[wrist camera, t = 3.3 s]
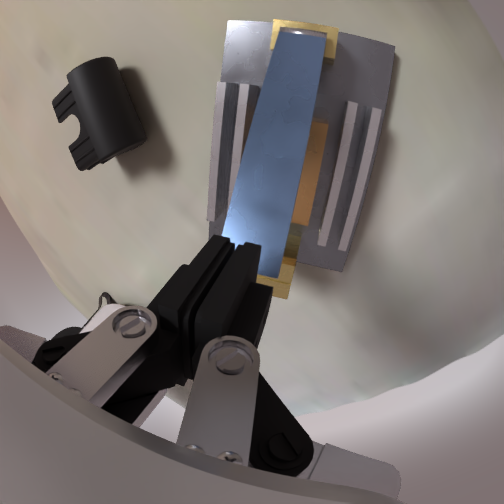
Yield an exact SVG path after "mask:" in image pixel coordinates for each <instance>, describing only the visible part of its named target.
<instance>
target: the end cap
mask: <svg viewBox="0 0 504 504" xmlns="http://www.w3.org/2000/svg"><path fill="white" fill-rule="evenodd" d="M67 79H68V82H69V84H68V85H67V86H66V87H65V88H64V89H63V90H62V91H61V92H60V93H59V94H58V95H57V96H56V97H55V98H54V99H53V101H52V105H53V108H54V111H55V113H56V116H57V119H58V122H59V123H62V122H63V121H64V120H65V119H66V118H67V117H68V116H69V115H71V114H73V115H75V116H76V117H77V118H78V120H79V122H80V134H79V137H78V139H77V140H76V141H75V142H73V143H72V144H71V145H70V146H69V150H70V152H71V154H72V157H73V159H74V161H75V164H76V166H77V168H78V169H79V170H80V171H84V170H86V169H87V170H90V169H92V168H93V167H95V166H96V165H98V164H100V163H102V164H104V163H105V162H107V161H108V160H110V159H112V158H113V157H115V156H117V155H119V154H122V153H124V152H127V151H129V150H132V149H135V148H137V147H138V146H140V145H142V144H143V143H144V142H145V141H146V140H147V137H146V135H145V132H144V130H143V128H142V125H141V123H140V121H139V118H138V116H137V114H136V111H135V109H134V106H133V104H132V102H131V99H130V97H129V94H128V92H127V89H126V87H125V85H124V82H123V80H122V77H121V75H120V72H119V70H118V67H117V64H116V62H115V60H114V59H113V58H111V57H100V58H95V59H92V60H90V61H87V62H85V63H83V64H81V65H79V66H78V67H76V68H75V69H73V70H72V71H71V72H69V73H68V74H67Z"/></svg>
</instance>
